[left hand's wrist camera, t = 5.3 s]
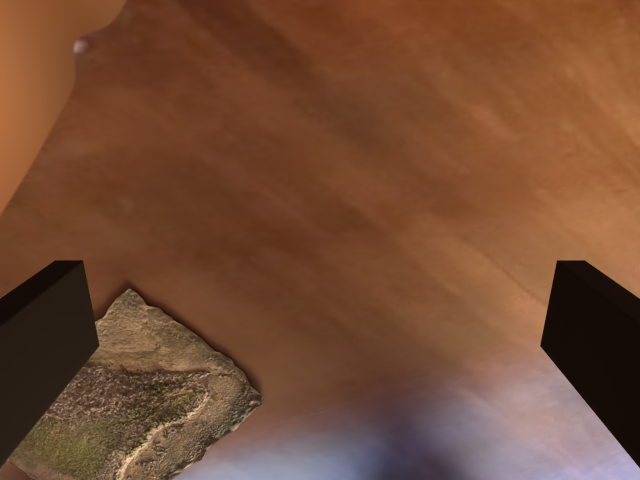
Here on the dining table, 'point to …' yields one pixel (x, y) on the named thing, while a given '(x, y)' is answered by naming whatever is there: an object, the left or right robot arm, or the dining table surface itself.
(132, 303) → the slab
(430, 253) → the dining table surface
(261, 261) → the dining table surface
